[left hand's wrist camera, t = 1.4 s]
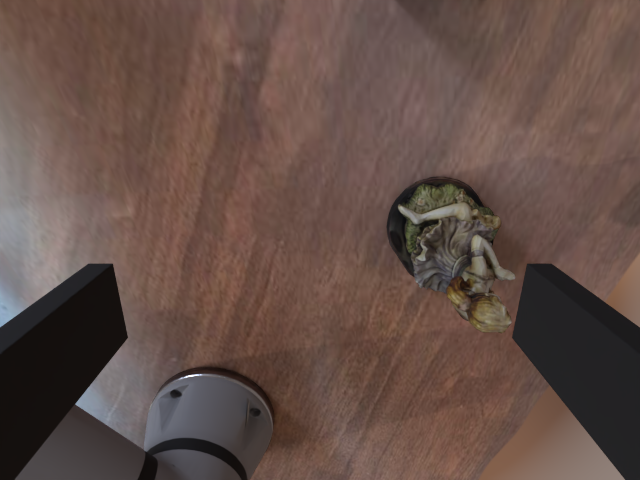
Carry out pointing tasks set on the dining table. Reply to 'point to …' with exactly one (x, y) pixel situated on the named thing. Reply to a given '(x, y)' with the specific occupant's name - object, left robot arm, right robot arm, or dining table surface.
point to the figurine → (451, 247)
